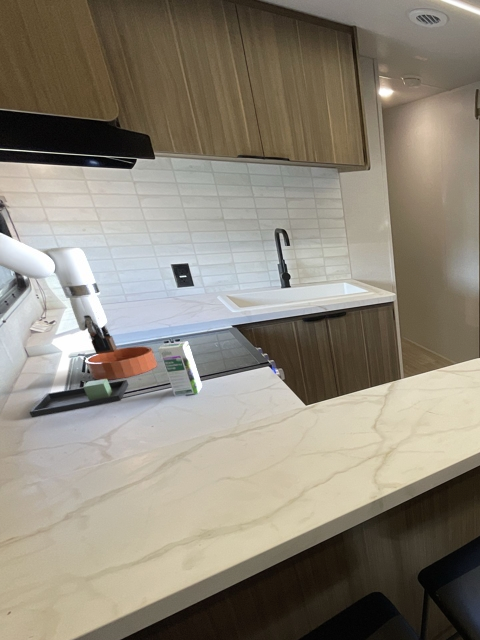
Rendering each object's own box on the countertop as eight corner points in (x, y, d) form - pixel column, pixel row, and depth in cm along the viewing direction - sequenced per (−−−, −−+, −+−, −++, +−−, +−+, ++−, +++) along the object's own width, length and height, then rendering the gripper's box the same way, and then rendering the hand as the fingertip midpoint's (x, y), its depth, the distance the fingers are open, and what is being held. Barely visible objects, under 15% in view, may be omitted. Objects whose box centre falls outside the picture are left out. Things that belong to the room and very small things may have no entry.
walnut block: (96, 354, 125) (91, 341, 123) (99, 350, 128) (94, 338, 126) (114, 351, 127) (109, 339, 125) (117, 348, 130) (111, 335, 128)
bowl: (87, 385, 121) (78, 367, 119) (99, 369, 134) (91, 352, 131) (155, 374, 129) (148, 356, 127) (160, 359, 142) (154, 343, 140)
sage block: (89, 400, 110) (83, 387, 109) (92, 395, 114) (86, 381, 112) (109, 397, 113) (103, 383, 111) (112, 391, 116) (106, 378, 114)
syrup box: (174, 397, 113) (157, 348, 108) (179, 389, 118) (163, 342, 113) (198, 393, 115) (182, 345, 110) (202, 386, 120) (188, 340, 115)
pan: (32, 419, 102) (29, 412, 101) (49, 400, 112) (46, 393, 112) (121, 402, 111) (118, 395, 110) (129, 385, 121) (126, 379, 120)
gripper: (72, 287, 124) (95, 343, 132) (55, 296, 111) (82, 358, 119) (104, 285, 128) (125, 339, 135) (91, 293, 115) (116, 353, 122)
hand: (105, 347), depth 127 cm, fingers closed on walnut block, 4 cm apart
